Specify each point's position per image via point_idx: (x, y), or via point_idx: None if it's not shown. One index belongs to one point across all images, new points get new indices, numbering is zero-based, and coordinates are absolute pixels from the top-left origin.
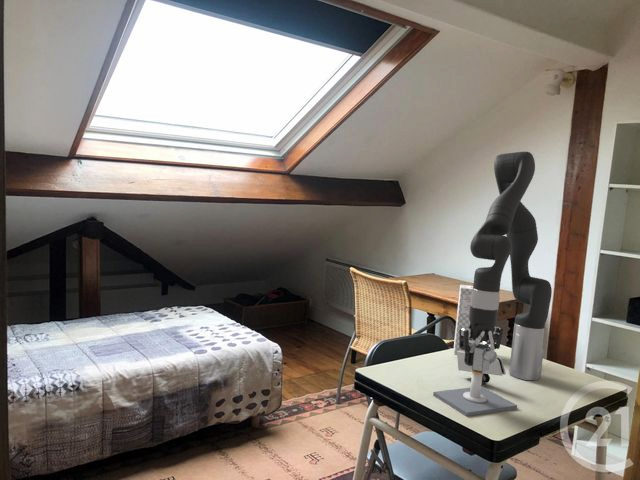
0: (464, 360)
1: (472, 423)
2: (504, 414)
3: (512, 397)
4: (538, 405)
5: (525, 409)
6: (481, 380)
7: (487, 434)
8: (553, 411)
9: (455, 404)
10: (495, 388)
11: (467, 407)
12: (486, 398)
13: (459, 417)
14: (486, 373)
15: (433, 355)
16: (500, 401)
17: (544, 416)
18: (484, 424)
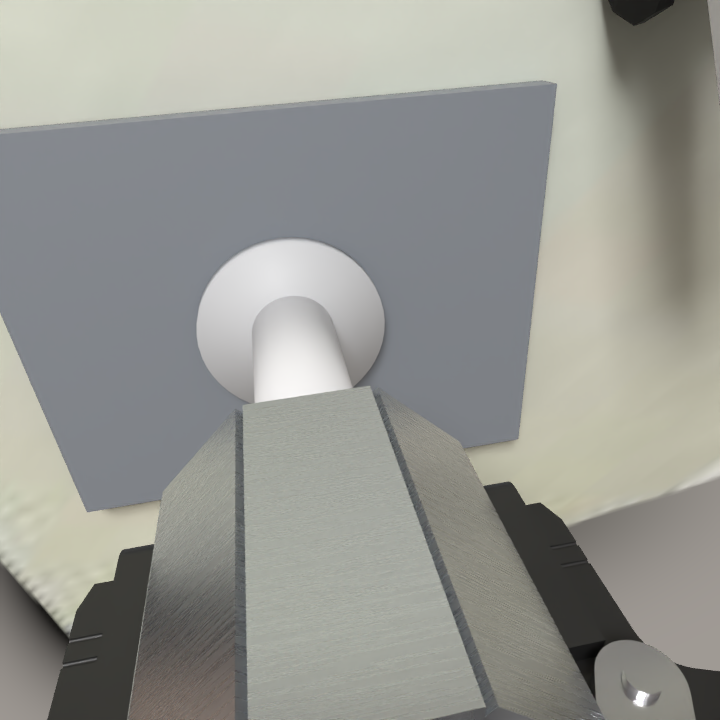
0: (75, 619)
1: (88, 560)
2: None
3: (644, 273)
4: (679, 394)
5: (551, 434)
6: None
7: None
8: (677, 461)
9: (58, 406)
10: (688, 83)
11: (135, 451)
12: (364, 373)
13: (34, 503)
14: (716, 44)
15: None
16: (454, 387)
17: (571, 504)
18: None
